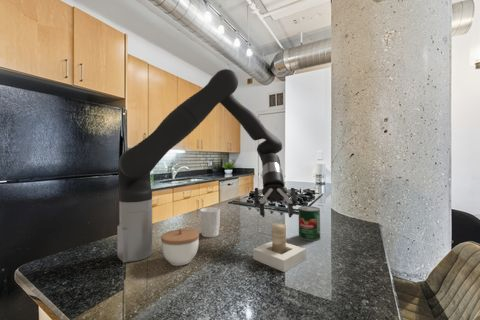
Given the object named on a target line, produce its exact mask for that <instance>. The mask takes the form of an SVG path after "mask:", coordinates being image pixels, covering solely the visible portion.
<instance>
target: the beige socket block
mask: <svg viewBox="0 0 480 320" xmlns="http://www.w3.org/2000/svg"><path fill="white" fill-rule="evenodd" d="M252 259H253V260H255V261H257V262H259V263H261V264H263V265H267V266H269V267H270V268H273V269H275V270H278V271H280V272H282V273H285V272H287V271H288V270H291V269H292V268H293V267H295V266H297V265H299V264H300V263H302V262H304V261H306V260H307V249H306V248H304V247H301V246H298V245H294V244H292V243H288V242H286V253H284V254H279V253H276V252H273V251H272V241H268V242H266V243H264V244H261V245H259V246H256V247H254V248H252Z"/></svg>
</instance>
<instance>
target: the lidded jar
mask: <svg viewBox="0 0 480 320" xmlns="http://www.w3.org/2000/svg"><path fill="white" fill-rule="evenodd" d="M199 239H200V233H199V231H198V230H195V229H190V228H182V227H181V228H178V229H174V230H169V231H166V232H165V233H163V234H162V235H161V237H160V240H161V251H162V254H163V257H164V258H165V260H166V261H168V262H169V264H170V265H172V266H176V267H179V266H184V265H187V264H190V263H191V262H192V260H193V258H194V257H196V255H197V252H198V250H199V246H200V245H199V244H200V243H199V241H200V240H199Z"/></svg>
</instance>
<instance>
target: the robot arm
mask: <svg viewBox="0 0 480 320" xmlns="http://www.w3.org/2000/svg"><path fill="white" fill-rule="evenodd" d="M238 86H239V79H238V75H237V74H236V72H235V71H233V70H232V69H228V68H225V69H220V70H218V71H217V72H216V73H215V74H214V75H212V77H211V78H210V79H209V81H208V83H207V84H205V86H204V87H203V88H201V89H199V91H198V92H195V93H194V94H192V95H191V96H190V97H188V98H187V99H185V101H183V102H182V103H180V104H179V105H178V106H177V107H175V108H174V109H173V110H172V111H170V113H168V115H166V117H164V119H163V120H162V121H161V122H160V123H159V125H157V127H156V128H155V130H154V131H153V132H152V133H151V134H150V135H148V136H147V137H145V138H144V139H143V140H141V141H139V143H137V144H136V145H133V147H131V148H128V149H127V150H125V151H124V152H123V153H122V154H121V155H120V157H119V160H118V194H119V195H118V196H119V197H118V198H119V199H118V200H119V205H118V206H119V209H118V210H119V212H118V213H119V224H118V225H117V232H116V233H117V234H116V235H117V237H116V238H117V241H116V242H117V244H116V245H117V247H116V249H117V252H116V253H117V254H116V255H117V258H118V259H119V260H120V261H121V262H122V263H128V262H137V261H142V260H145V259H147V258H149V257H151V256H152V255H153V190H152V185H151V172H152V171H153V170H154V168H155V167H156V165H157V164H159V162H160V161H161V160H162V159H163V158H164V156H165V155H166V154H167V153H168V152H169V151H170V150H171V149H173V148H174V147H175V146H177V145H178V144H180V143H181V142H182V141H183V140H184V139H186V138H187V137H188V136H189V135H190V134H192V133H193V131H194V130H195V129H197V128H198V127H199V125H200V124H201V123H202V122H203V121H204V120H206V118H207V117H208V116H209V115H210V113H211V112H212V111H213V110H214V109H215V108H216V106H217V105H218V104H220V105H222V106H223V107H224V108H225V109H226V110H227V111H228V112H229V113H230V114H231V116H232V117H234V119H236V121H237V122H238V123H239V124H240V125H241V127H242V128H243V129H244V130H245V132H246V133H247V135H248V136H249V137H250V138H251V140H252V141H259V140H264V141H262V142H261V143H259V144H258V145H257V147H256V152H257V154H258V156H259V158H260V161H261V165H262V168H261V169H262V171H261V176H262V177H261V179H262V189H259V188H258V187H255V188H254V197H253V201H254V202H253V206H254V207H259V215H260V216H261V217H262V218H265V212H266V211H265V205H266V204H267V203H268V202H277V203H279V202H281V203H282V204H283V205H285V206H287V214H288V218H292V217H293V215H294V213H295V212H294V207H297V205H298V201H299V200H298V196H297V194H296V190H295V188H294V187H291V188H290V189H287V188H286V186H285V181H284V173H283V169H282V165H281V159H280V156H279V155H278V153H280V152H281V151H282V150H283V143H282V141H281V140H280V139H279V137H278V136H276V135H274V134H273V133H271V131H269V130H268V129H267V128H266V127H265V125H264V124H263V123H262V122H261V120H260V119H259V118H258V116H257V115H256V114H255V113H254V112H253V111H251V110H250V109H249V108H247V107H245V106H244V105H243V104H242V103H240V102H239V100H238V99H237V98H236V96H235V95H234V93H235V91H236V90H237V88H238ZM261 194H262V195H263V197H262V199H260V200H259V197H260V196H261ZM288 195H289V196H288ZM289 197H290V198H291V199H290V198H289Z"/></svg>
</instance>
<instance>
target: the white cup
mask: <svg viewBox="0 0 480 320" xmlns="http://www.w3.org/2000/svg"><path fill="white" fill-rule="evenodd" d="M199 214H200V215H199V216H200V219H199V220H200V229H201V236H202V237H204V238H214V237H217V236H219V235H220V225H221V224H220V220H221V209H220V208H219V207H211V206H210V207H203V208H201V209H199Z"/></svg>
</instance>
